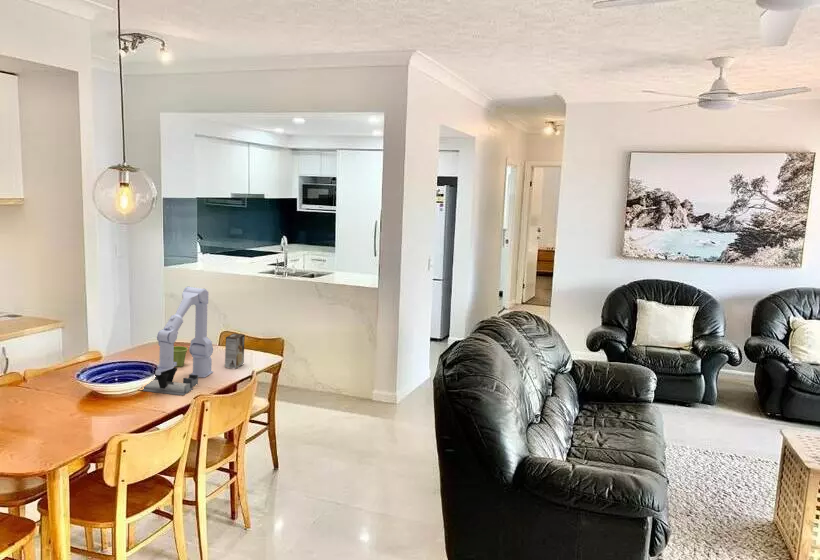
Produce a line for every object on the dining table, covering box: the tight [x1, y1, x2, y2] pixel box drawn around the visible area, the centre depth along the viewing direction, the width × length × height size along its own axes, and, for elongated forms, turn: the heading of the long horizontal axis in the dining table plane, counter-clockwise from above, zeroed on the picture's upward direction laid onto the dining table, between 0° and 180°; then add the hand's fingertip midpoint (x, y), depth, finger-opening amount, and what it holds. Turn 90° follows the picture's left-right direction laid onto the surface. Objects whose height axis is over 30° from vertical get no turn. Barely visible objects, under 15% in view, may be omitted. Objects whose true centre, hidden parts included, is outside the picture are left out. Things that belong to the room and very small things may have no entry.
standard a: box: [182, 373, 199, 389], centre depth 275 cm, size 6×4×4 cm, turn 173°
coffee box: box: [224, 333, 246, 369], centre depth 308 cm, size 9×6×16 cm
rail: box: [144, 379, 191, 394], centre depth 267 cm, size 4×21×3 cm, turn 83°
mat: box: [142, 387, 194, 396], centre depth 267 cm, size 9×21×1 cm, turn 83°
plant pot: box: [173, 345, 189, 368], centre depth 302 cm, size 9×9×9 cm
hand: (165, 386), depth 267 cm, fingers open, 5 cm apart
